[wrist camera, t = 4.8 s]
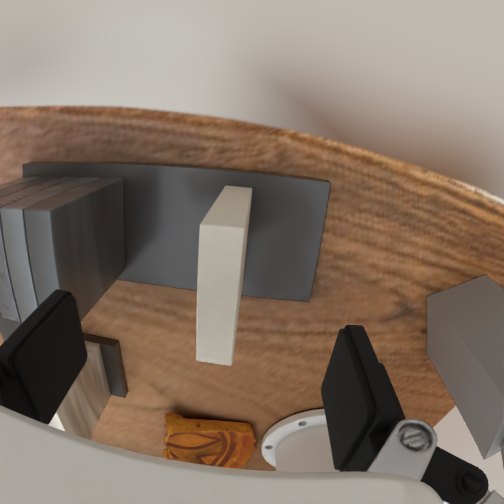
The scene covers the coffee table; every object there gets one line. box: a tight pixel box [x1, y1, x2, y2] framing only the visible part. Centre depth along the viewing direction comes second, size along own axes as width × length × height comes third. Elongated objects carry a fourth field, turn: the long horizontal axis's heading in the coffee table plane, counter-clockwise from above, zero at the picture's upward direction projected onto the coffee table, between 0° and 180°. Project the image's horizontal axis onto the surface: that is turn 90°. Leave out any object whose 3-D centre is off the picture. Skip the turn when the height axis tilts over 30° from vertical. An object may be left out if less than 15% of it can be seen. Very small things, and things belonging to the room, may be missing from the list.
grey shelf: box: [0, 162, 331, 323], centre depth 18 cm, size 24×9×10 cm, turn 84°
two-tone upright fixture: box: [0, 316, 128, 440], centre depth 24 cm, size 16×7×10 cm, turn 84°
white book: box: [196, 186, 252, 365], centre depth 18 cm, size 2×7×9 cm, turn 174°
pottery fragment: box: [163, 413, 256, 469], centre depth 31 cm, size 10×5×10 cm
